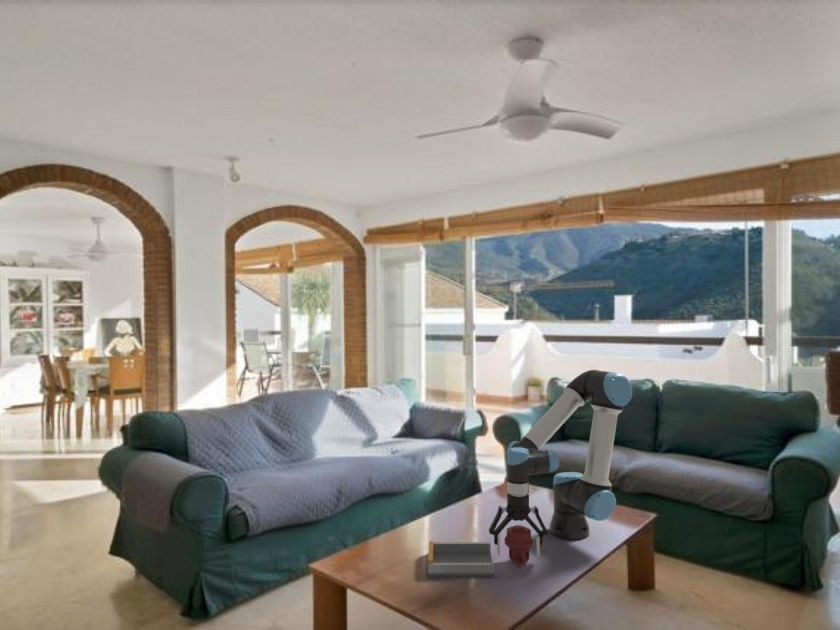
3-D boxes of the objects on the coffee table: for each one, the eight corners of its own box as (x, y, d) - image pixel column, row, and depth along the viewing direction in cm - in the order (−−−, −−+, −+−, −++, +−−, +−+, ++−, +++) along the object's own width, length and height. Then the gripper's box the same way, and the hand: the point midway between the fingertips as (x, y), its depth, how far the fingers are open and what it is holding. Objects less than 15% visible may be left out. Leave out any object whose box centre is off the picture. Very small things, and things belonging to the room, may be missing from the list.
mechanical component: (533, 556, 203) (533, 569, 193) (505, 555, 205) (504, 567, 195) (533, 522, 202) (533, 533, 193) (505, 521, 204) (503, 532, 195)
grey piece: (490, 552, 207) (490, 538, 206) (495, 578, 188) (494, 562, 188) (429, 553, 208) (429, 538, 207) (428, 578, 189) (428, 562, 188)
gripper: (552, 490, 201) (552, 549, 202) (481, 489, 202) (481, 548, 203) (556, 497, 194) (556, 559, 194) (482, 496, 195) (483, 558, 195)
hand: (518, 554), depth 198 cm, fingers open, 13 cm apart
